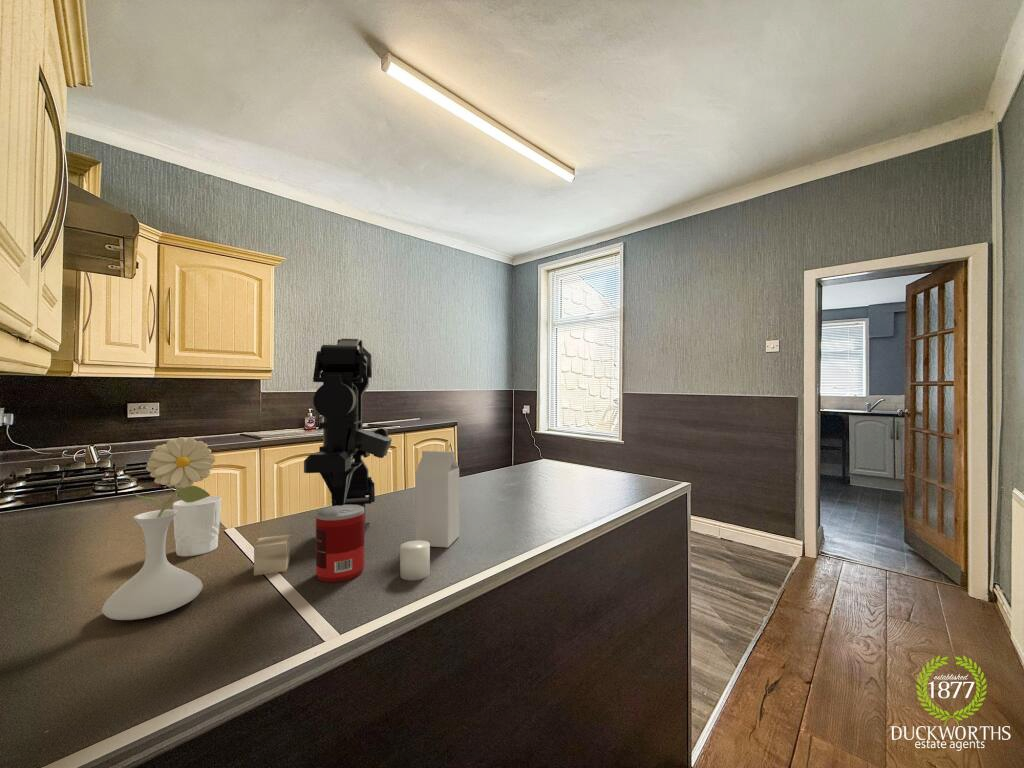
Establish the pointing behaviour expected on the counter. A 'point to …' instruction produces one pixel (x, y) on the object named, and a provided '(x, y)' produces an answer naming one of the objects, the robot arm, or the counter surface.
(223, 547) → the counter surface
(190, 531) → the white cup
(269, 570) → the birch block
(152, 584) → the flower in vase
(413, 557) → the off-white smooth rounded part
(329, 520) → the canned food
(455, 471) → the milk carton
